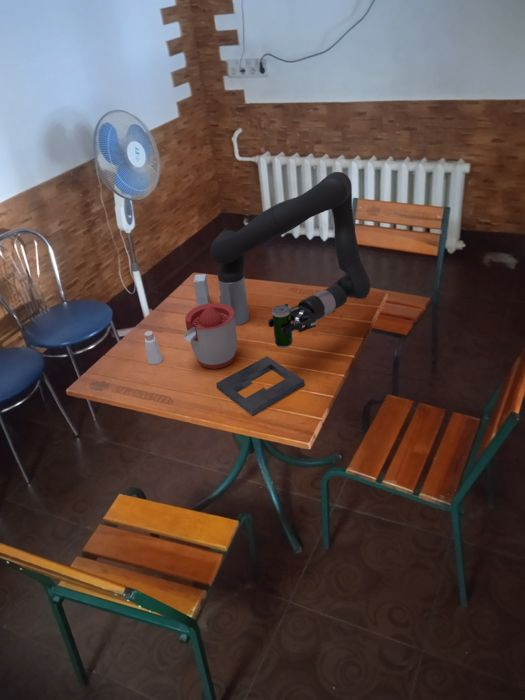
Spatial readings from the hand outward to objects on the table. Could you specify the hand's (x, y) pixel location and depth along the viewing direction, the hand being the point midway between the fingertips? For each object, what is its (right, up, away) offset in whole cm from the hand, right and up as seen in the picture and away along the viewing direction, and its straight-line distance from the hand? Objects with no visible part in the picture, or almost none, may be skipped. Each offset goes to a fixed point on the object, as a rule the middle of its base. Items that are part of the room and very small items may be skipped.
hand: (275, 327), depth 164 cm
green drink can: (+3, -5, +5) cm, 7 cm away
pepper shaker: (-40, -10, +24) cm, 47 cm away
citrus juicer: (-20, -10, +20) cm, 30 cm away
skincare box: (-26, +11, +52) cm, 59 cm away
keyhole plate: (-5, -18, +6) cm, 19 cm away
